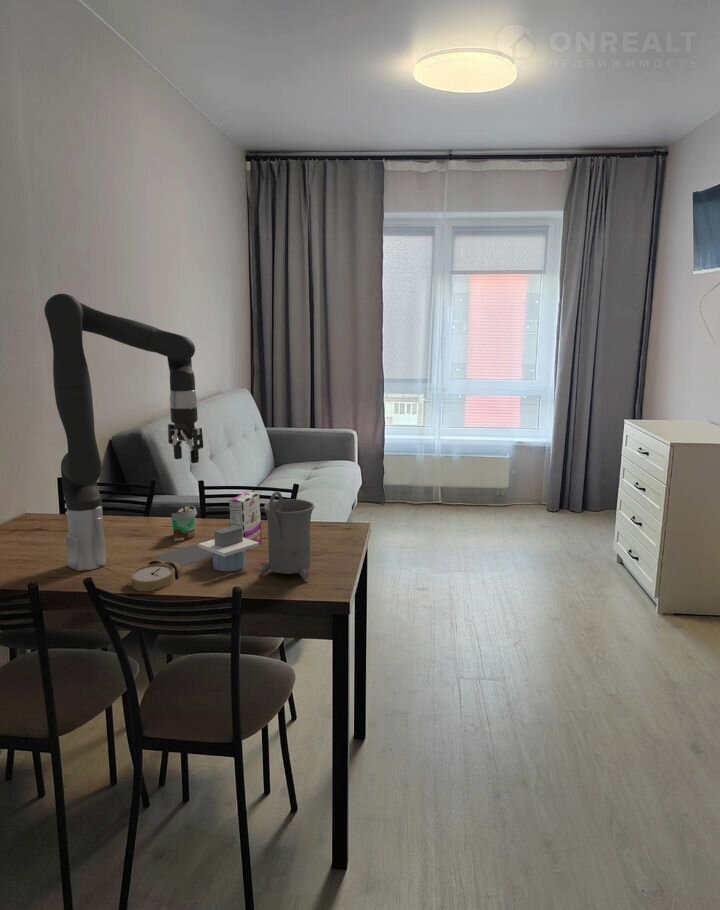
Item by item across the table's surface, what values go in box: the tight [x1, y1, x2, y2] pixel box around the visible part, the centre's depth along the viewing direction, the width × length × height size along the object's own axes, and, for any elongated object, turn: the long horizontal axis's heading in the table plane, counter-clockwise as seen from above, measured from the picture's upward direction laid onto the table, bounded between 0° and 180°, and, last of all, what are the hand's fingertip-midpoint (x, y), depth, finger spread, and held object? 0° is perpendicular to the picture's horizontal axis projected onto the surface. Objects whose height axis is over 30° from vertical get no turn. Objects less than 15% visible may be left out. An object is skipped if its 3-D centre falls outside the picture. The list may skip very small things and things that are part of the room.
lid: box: [197, 525, 260, 557], centre depth 190 cm, size 12×12×5 cm
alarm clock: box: [127, 559, 183, 592], centre depth 181 cm, size 11×5×15 cm
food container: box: [171, 503, 198, 543], centre depth 216 cm, size 12×6×10 cm, turn 179°
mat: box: [154, 544, 213, 568], centre depth 200 cm, size 14×14×1 cm
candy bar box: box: [228, 491, 263, 553], centre depth 207 cm, size 11×5×16 cm, turn 161°
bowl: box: [212, 550, 247, 573], centre depth 191 cm, size 9×9×6 cm
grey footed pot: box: [258, 490, 315, 583], centre depth 183 cm, size 19×15×25 cm
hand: (186, 460), depth 199 cm, fingers open, 8 cm apart
